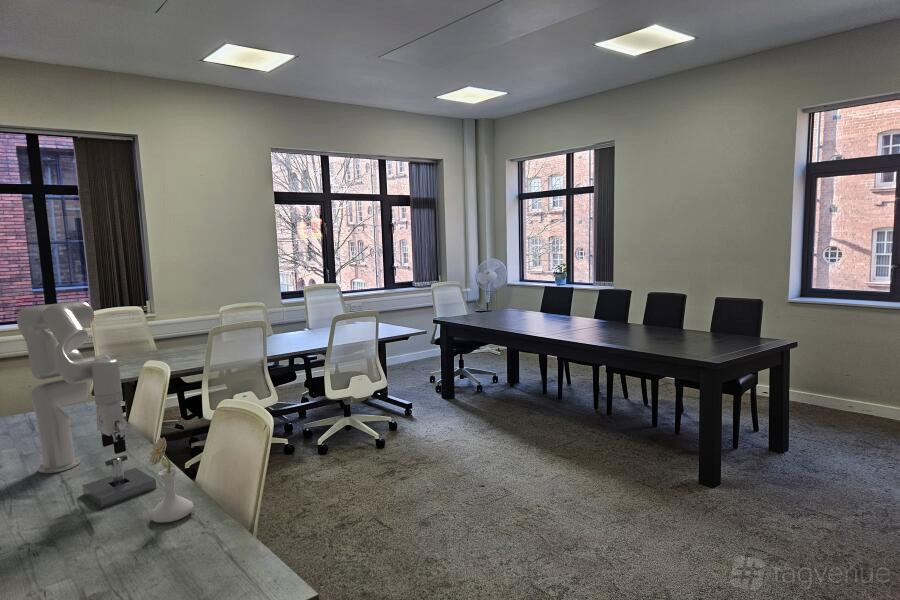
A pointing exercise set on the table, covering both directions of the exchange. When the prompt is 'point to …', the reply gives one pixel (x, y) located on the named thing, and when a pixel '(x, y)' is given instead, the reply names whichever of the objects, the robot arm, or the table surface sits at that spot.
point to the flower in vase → (168, 489)
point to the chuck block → (119, 488)
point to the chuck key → (117, 469)
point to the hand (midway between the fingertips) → (114, 448)
